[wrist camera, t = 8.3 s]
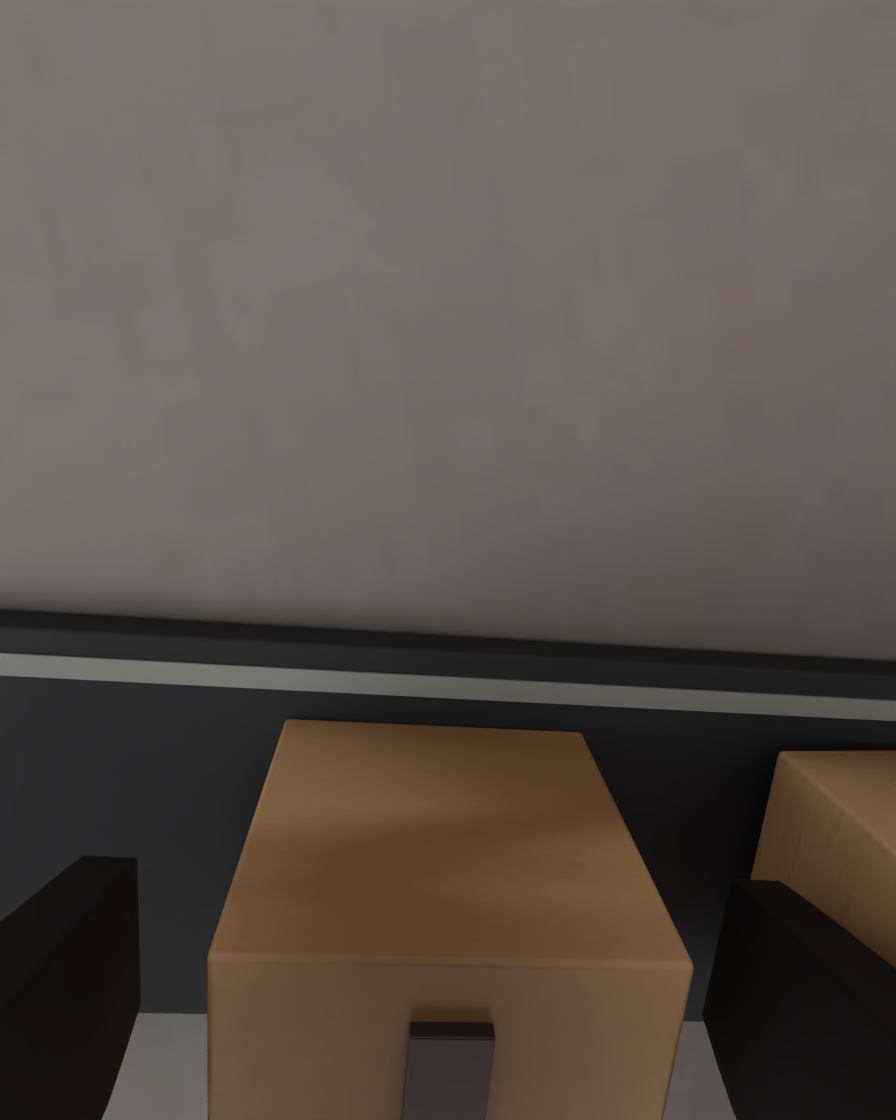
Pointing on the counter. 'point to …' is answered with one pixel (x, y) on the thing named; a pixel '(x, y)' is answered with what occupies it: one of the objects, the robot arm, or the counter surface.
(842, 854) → the tile
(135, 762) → the black tile rack
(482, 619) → the counter surface
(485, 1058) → the tile
